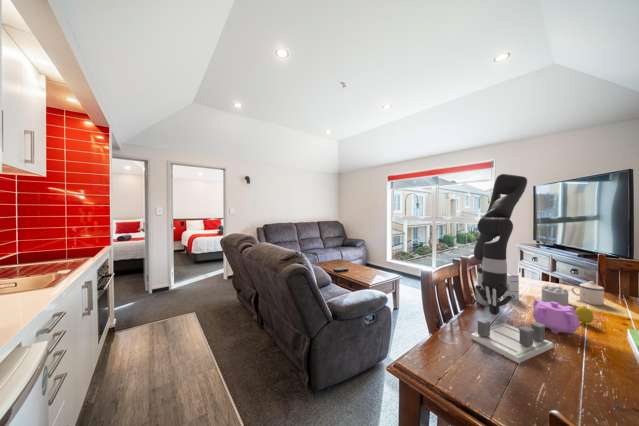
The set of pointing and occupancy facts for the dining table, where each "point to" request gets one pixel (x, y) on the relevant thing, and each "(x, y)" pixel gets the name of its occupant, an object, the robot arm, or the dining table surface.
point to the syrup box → (513, 285)
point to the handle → (538, 331)
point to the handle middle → (526, 336)
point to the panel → (511, 343)
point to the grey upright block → (483, 327)
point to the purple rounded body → (556, 316)
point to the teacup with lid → (591, 293)
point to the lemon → (584, 315)
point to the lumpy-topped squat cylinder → (555, 294)
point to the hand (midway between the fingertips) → (493, 314)
